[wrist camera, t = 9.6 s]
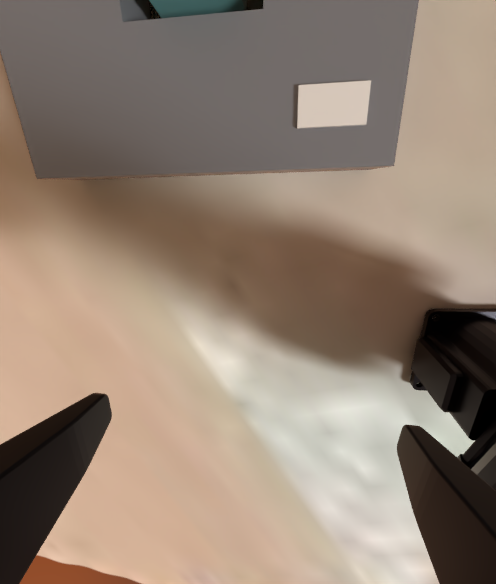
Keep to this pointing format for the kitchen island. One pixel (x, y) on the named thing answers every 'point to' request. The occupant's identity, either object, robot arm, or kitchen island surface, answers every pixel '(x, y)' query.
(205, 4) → the block
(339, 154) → the outlet plate
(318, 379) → the kitchen island surface
